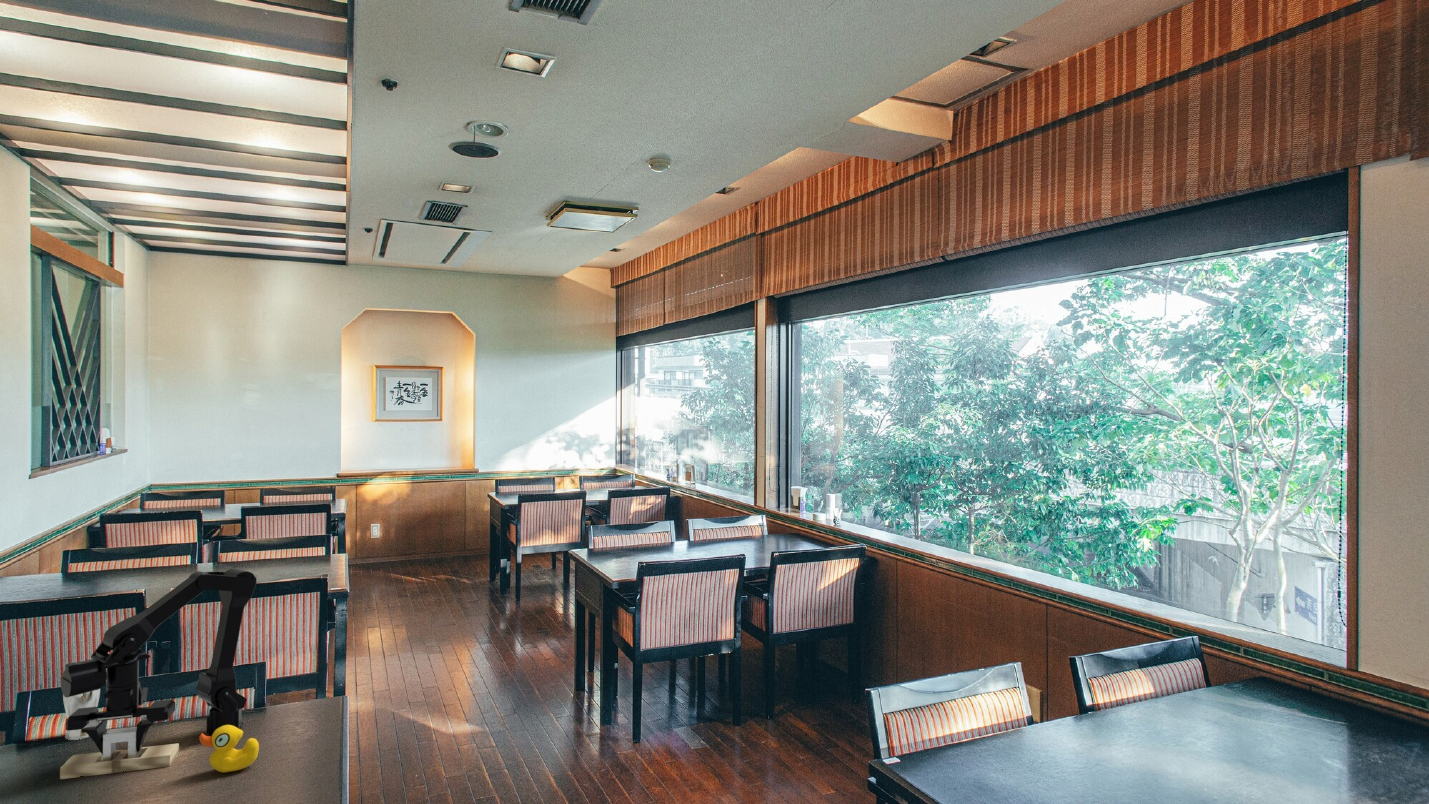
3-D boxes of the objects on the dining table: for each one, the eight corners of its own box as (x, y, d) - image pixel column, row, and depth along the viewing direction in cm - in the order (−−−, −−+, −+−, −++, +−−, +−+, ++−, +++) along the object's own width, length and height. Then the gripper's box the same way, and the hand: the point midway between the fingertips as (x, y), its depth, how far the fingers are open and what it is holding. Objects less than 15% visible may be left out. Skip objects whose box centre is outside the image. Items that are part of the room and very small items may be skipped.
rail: (178, 754, 178) (178, 743, 178) (170, 766, 172) (170, 755, 172) (72, 766, 171) (72, 755, 171) (60, 779, 165) (60, 767, 165)
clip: (140, 754, 174) (140, 726, 174) (135, 760, 171) (135, 731, 171) (108, 758, 172) (108, 729, 172) (102, 764, 169) (103, 734, 169)
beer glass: (107, 729, 189) (108, 668, 189) (81, 742, 183) (82, 679, 182) (81, 727, 190) (82, 667, 190) (54, 740, 183) (55, 677, 183)
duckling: (195, 780, 166) (196, 734, 166) (202, 769, 171) (202, 724, 171) (256, 772, 170) (256, 727, 170) (260, 761, 175) (261, 717, 175)
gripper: (183, 666, 182) (182, 732, 182) (87, 674, 176) (86, 742, 176) (167, 683, 171) (166, 753, 172) (64, 692, 165) (64, 765, 165)
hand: (121, 752), depth 171 cm, fingers closed on clip, 6 cm apart
